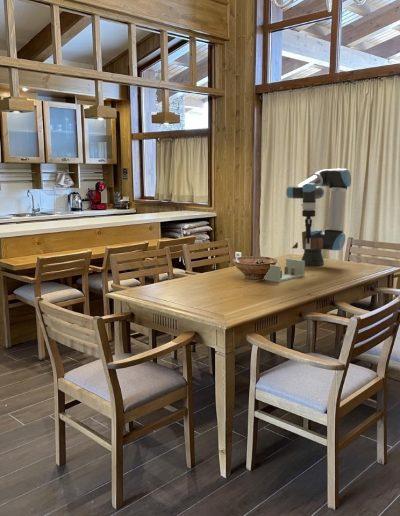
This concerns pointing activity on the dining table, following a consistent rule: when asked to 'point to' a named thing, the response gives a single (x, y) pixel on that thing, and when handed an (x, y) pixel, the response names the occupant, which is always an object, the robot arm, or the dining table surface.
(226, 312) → the dining table surface
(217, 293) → the dining table surface
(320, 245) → the wooden block set
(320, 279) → the dining table surface
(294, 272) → the peg stand
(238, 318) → the dining table surface
